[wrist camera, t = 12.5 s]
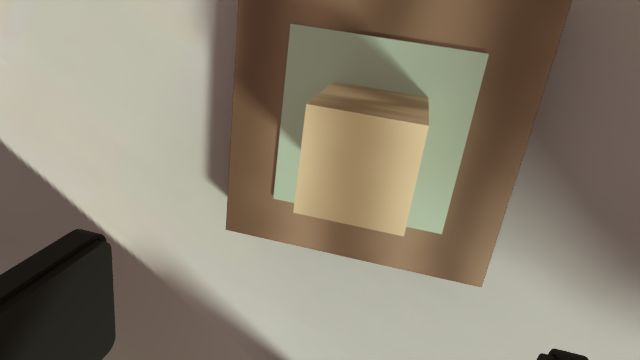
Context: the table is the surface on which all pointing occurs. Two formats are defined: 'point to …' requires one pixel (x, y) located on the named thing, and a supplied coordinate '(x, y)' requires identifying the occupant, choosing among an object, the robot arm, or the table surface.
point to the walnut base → (404, 77)
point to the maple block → (361, 156)
